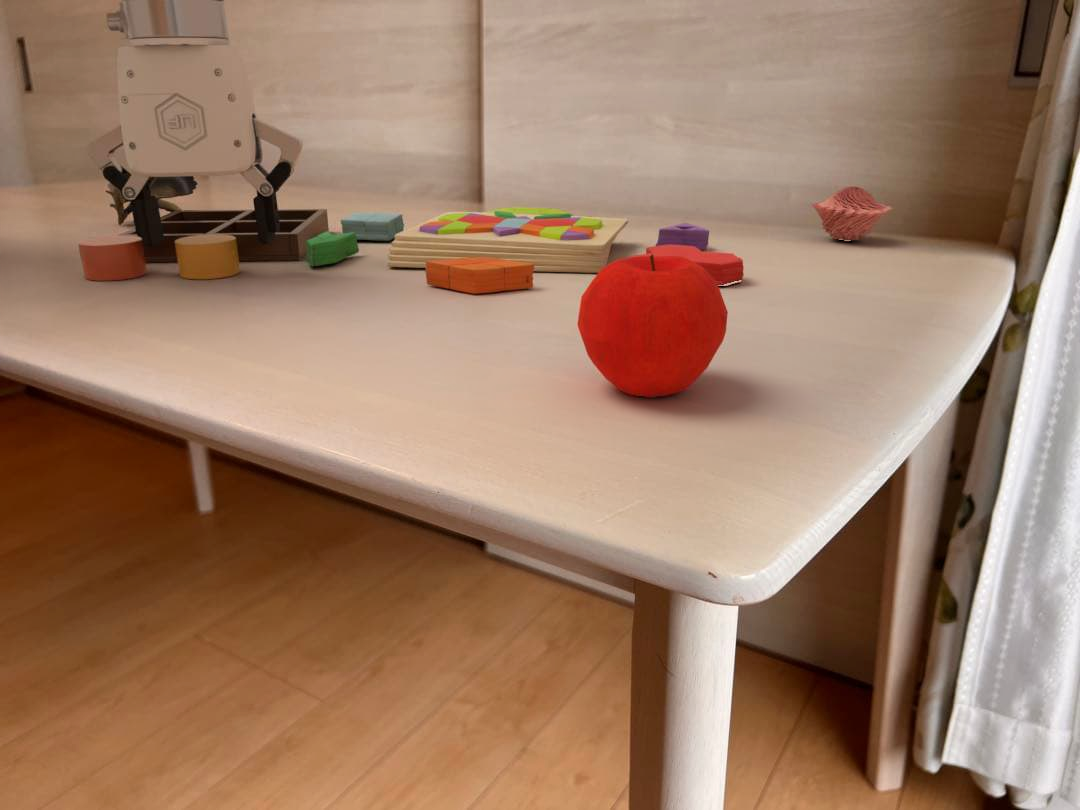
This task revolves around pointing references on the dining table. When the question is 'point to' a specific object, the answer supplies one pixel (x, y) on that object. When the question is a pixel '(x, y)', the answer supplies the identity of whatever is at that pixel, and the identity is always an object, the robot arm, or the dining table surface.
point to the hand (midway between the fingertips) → (211, 243)
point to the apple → (652, 323)
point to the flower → (850, 213)
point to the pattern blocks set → (509, 246)
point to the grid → (240, 232)
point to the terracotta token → (112, 258)
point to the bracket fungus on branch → (156, 194)
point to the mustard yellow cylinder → (207, 256)
